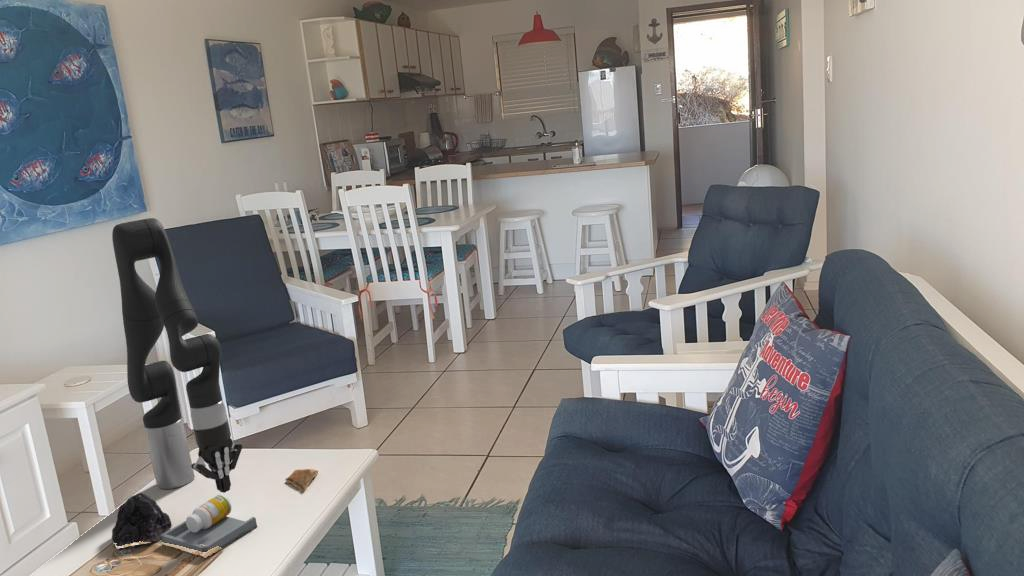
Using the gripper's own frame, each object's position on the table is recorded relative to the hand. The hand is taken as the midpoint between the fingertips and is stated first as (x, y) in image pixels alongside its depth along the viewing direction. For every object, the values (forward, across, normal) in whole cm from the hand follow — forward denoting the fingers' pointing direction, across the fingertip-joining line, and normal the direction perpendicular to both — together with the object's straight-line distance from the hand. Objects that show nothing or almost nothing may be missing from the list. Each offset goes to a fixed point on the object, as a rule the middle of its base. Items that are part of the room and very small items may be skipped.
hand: (224, 490), depth 183 cm
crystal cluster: (+9, +12, -17) cm, 22 cm away
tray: (+8, +6, 0) cm, 10 cm away
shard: (+9, -23, +1) cm, 25 cm away
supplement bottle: (+5, -2, -4) cm, 7 cm away
